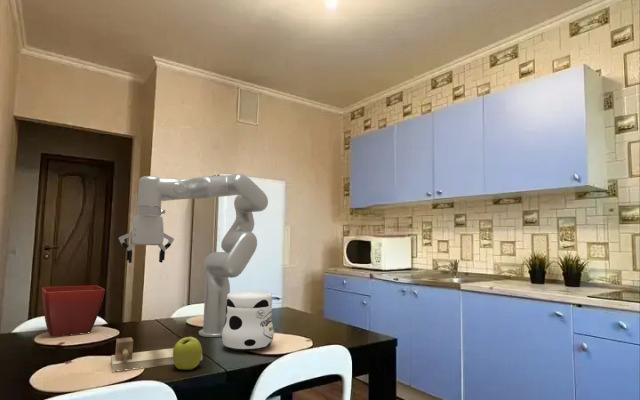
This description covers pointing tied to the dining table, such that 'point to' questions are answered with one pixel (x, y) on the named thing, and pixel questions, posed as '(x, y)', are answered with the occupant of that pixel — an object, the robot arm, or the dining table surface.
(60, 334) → the plant pot
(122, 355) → the mallet
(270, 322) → the milk container
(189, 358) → the apple
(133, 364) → the board
